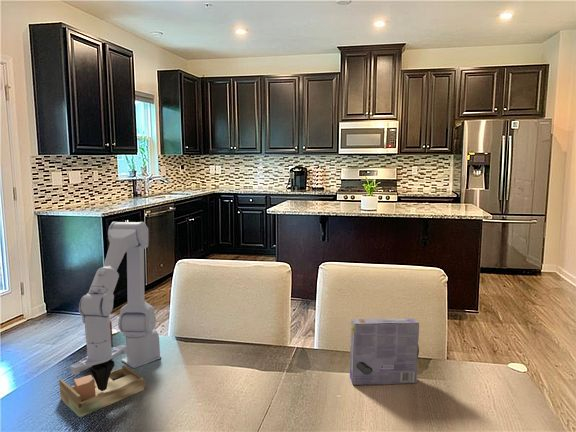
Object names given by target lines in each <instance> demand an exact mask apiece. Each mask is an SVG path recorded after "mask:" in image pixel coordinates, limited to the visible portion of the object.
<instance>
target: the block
mask: <svg viewBox="0 0 576 432" xmlns="http://www.w3.org/2000/svg"><path fill="white" fill-rule="evenodd" d="M93 378H94V377H93V375H92V374H89V375H85V376H80V377H79V378H74V379H73V381H74V382H73V383H74V384H73V385H75V391H76V392H77V393H78V394H79V395H80V396H81V400H83V399H87V398H90V397H93V396H96V394H95V381H94V379H93Z"/></svg>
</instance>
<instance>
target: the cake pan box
mask: <svg viewBox="0 0 576 432" xmlns="http://www.w3.org/2000/svg"><path fill="white" fill-rule="evenodd" d="M350 325H351V326H350V327H351V329H350V354H349V355H350V357H349V361H350V363H349V379H350V381H351V383H352V385H353V386H361V385H362V386H363V385H365V386H366V385H367V386H368V385H371V386H372V385H376V386H377V385H378V386H380V385H381V386H386V385H387V386H388V385H396V384H399V385H401V384H417V380H418V358H419V352H420V347H419V335H420V322H419V321H418V320H416V319H415V318H414V317H412V318H410V317H409V318H405V317H404V318H352V319H351V323H350Z"/></svg>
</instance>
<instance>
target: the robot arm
mask: <svg viewBox="0 0 576 432" xmlns="http://www.w3.org/2000/svg"><path fill="white" fill-rule="evenodd" d="M107 239H108V241H109V245H108V249H107V253H106V257H105V260H104V262H103V263H104V264H103V267H99V268H98V269H97V270H96V272H95V275H94V277H93V280H92V282H91V285H90V287H89V290H88V292H87V293H85V294H84V295H83V296H81V298H80V301H79V304H78V305H79V307H78V313H79V315H80V316H81V320H82V323H83V324H84V329H85V328H86V332H85V342H86V341H87V345H86V354H87V355H86V356H85V357H83V358H81V359H80V360H79V361H77V362H75V363H74V364H71V365H70V366H69V367H70V374H73V375H74V376H77V375H79V374H80V373H81V372H82V371H86V370H88V371H89V372H90V375H91V376H92V378H94V379H95V381H96V384H97V387H98V389H99V390H101V391H104V390H106V389H107V384H108V380H109V376H110V373H111V371H113V370H114V367H115V361H114V360H112V359H113V358H116V357H118V356H120V355H126V356H125V357H123V358H122V359H121V362H123V363H125V364H127V365H128V366H129V367H131V368H132V369H136V368H139V367H141V366H145V365H146V364H149V363H151V362H155V361H157V360H159V359H162V356H161V347H160V346H161V345H160V336H159V333H158V331H157V330H156V329H155V327H156V322H157V321H156V318H157V317H156V314H155V307H154V306H153V305H151V304H150V303H148V302H147V301H146V300H145V297H146V296H145V249H147V248H148V247H149V243H150V242H149V227H148V226H147V224H146V223H145V221H137V222H136V221H125V222H124V221H112V222H111V223H110V225H109V226H108V229H107ZM125 254H126V279H127V281H126V282H127V286H126V287H127V293H126V294H127V303H126V304H124V305H123V306H122V307H121V308H120V309H119V317H118V322H117V325H118V329H119V331H120V332H121V333H122V335H123V336H125V345H124V344H120V345H117V346H113V348H111V333H110V319H111V318H110V315H111V314H112V311H113V309H114V299H115V295H114V291H115V289H116V287H117V284H118V280H119V278H120V273H119V272H118V269H119V266H120V264H121V263H122V260H123V259H124V256H125ZM109 318H110V319H109Z"/></svg>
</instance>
